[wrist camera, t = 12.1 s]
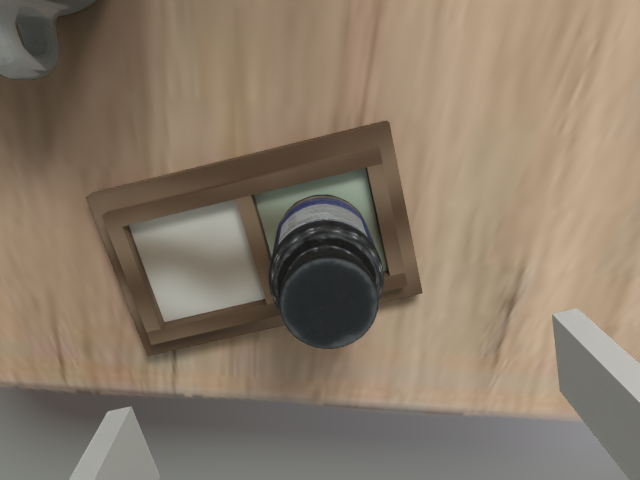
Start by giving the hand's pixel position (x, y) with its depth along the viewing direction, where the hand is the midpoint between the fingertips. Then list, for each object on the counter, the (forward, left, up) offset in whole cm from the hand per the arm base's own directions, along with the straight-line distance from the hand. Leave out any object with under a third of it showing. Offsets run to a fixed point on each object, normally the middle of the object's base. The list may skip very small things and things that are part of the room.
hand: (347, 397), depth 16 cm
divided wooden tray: (+1, -5, -21) cm, 22 cm away
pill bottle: (+1, 0, -20) cm, 20 cm away
